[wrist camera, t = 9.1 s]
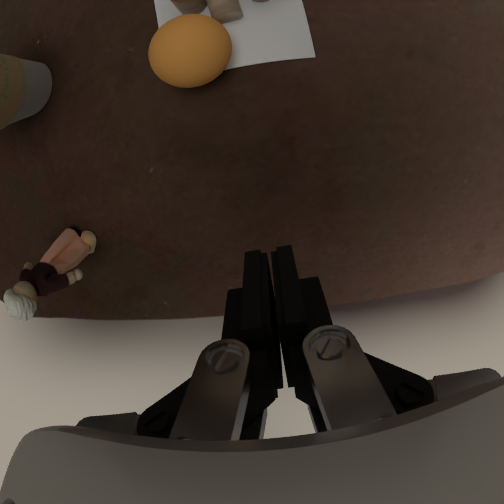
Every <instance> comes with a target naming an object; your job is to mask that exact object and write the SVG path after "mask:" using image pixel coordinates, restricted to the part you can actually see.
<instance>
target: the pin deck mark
mask: <svg viewBox="0 0 504 504" xmlns="http://www.w3.org/2000/svg"><path fill="white" fill-rule="evenodd" d="M238 1H239V4H240V7H241V10H242V13H243V18H241V19H240V20H236V21H232V22H228V23H224V24H222V25H223V26H224V27H225V28H226V30H227V31H228V33H229V35H230V38H231V42H232V54H231V58H230V61H229V63H228V65H227V66H226V68H225V69H224V70H227V69H232V68H237V67H242V66H248V65H254V64H260V63H267V62H275V61H283V60H292V59H303V58H315V52H314V48H313V43H312V39H311V35H310V30H309V26H308V22H307V18H306V14H305V10H304V7H303V3H302V0H269V1H267V2H254V1H252V0H238ZM154 3H155V9H156V14H157V20H158V25H159V28H160V27H161V26H162V25H163V24H165V23H166V22H167V21H169V20H171V19H173V18H175V17H178V16H181V15H184V14H182V13H181V12H180V11H179V10H178V9H177V7H176V6H175V5H174V4H173V3H172V2H171V1H170V0H154ZM200 14H202V15H206V16H209V17H211V14H210V11H209V8H208V4H207V6H206V8H205V10H204V11H203V12H201V13H200Z"/></svg>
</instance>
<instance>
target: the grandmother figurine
mask: <svg viewBox="0 0 504 504" xmlns="http://www.w3.org/2000/svg"><path fill="white" fill-rule="evenodd" d="M95 246H96V236H95V235H94V233H92V232H91V231H87V230H86V231H83V232H82V234H81V237H79V236H78V234H77V233H76V232H75V231H74V230H72V229H70V228H68V229H66V230H65V231H64V232H63V233H62V234H61V235H60V236H59V237H58V238H57V239H56V241H55V242H54V243H53V244H52V246H51V247H50V249H49V250H48V251H47V252H46V253H45V255H44V256H43V257H42V259H41V261H40V262H39V263H37V264H36V266H34V267H33V266H32V264H31V263H30V262H27V263H25V265H24V268H23V270H22V271H21V273H20V277H19V280H20V282H18V283H17V284H16V285H15V286H14V287H13V289H9V290H6V292H5V294H4V302H5V305H6V308H7V310H8V311H9V313H10V315H11V316H12V317H13V318H15V319H17V320H24V321H27V320H29V319H30V318H32V317H33V315H34V312H35V311H36V309H37V306H36V301H37V296H47V295H48V294H49V293H52V292H55V291H58V290H60V289H63V288H66V287H68V286H69V285H70V284H72V283H74V282H75V281H76V280H80V279H81V278H82V277H83V273H82V271H81V270H80V269H76V270H74V271H73V272H69V273H67V274H63V273H64V272H66V271H68V270H70V269H72V268H74V267H75V266H76V265H78V264H79V263H80V262H81V261H82V260H83V259H84V258H85V257H86V256H87V255H88V254H90V253H93V252H94V250H95Z"/></svg>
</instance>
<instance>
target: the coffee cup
mask: <svg viewBox="0 0 504 504" xmlns="http://www.w3.org/2000/svg"><path fill="white" fill-rule="evenodd" d="M51 91H52V76H51V72H50V70H49V68H48V67H47V66H46V65H45V64H43V63H40V62H35V61H30V60H24V59H19V58H17V57H15V56H10V55H4V54H0V130H1V129H3V128H5V127H6V126H8V125H9V124H11V123H14V122H16V121H19V120H22V119H24V118H27V117H30V116H32V115H34V114H36V113H38V112H39V111H40V110H41V109H42V108H43V107H44V106H45V104H46V103H47V101H48V99H49V97H50V94H51Z"/></svg>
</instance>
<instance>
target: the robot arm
mask: <svg viewBox="0 0 504 504" xmlns="http://www.w3.org/2000/svg"><path fill="white" fill-rule="evenodd" d="M276 249H277V251H274V252H271V257H272V268H273V279H274V291H275V296H274V291H273V285H272V280H271V274H270V269H269V263H268V258H267V253H261V251H260V250H255V251H249V252H245V260H244V274H243V288H237V289H230V290H228V293H227V300H226V308H225V315H224V323H223V330H222V338H221V340H219V341H216V342H213V343H212V344H210V345H208V346H207V347H206V348H205V349H204V350H203V351H202V352H201V354H200V356H199V358H198V361H197V363H196V366H195V369H194V371H193V374H192V377H191V378H189V379H188V380H187V381H185V382H184V383H182V384H181V385H180V386H179V387H177V388H176V389H174V390H173V391H172V392H170V393H169V394H167V395H166V396H164V397H163V398H162V399H160V400H159V401H158V402H156V403H155V404H153V405H152V406H150V407H149V408H147V409H146V410H145V411H144V412H143V413H142V414H141V415H138V414H137V413H136V412H132V413H124V414H116V415H115V414H114V415H103V416H90V417H86V418H84V419H82V420H81V421H79V423H78V424H77V425H76V426H50V427H44V428H40V429H36V430H34V431H31V432H29V433H28V434H26V435H25V436H24V437H23V438H22V440H21V441H20V442H19V444H18V446H17V448H16V450H15V452H14V454H13V456H12V458H11V461H10V463H9V466H8V468H7V472H6V475H5V477H4V481H3V484H2V487H1V491H0V504H504V377H501V376H500V374H499V373H497V372H496V371H495V370H493V369H490V368H483V369H477V370H472V371H467V372H460V373H453V374H446V375H439V376H434V377H433V379H432V380H426V379H425V378H423V377H421V376H419V375H417V374H414V373H412V372H410V371H407V370H405V369H402V368H400V367H397V366H395V365H393V364H390V363H388V362H385V361H383V360H381V359H379V358H376V357H374V356H372V355H369V354H367V353H364V352H363V351H362V349H361V347H360V345H359V343H358V342H357V340H356V338H355V336H354V335H353V334H352V333H351V332H350V331H349V330H347V329H346V328H344V327H341V326H337V325H333V324H332V320H331V317H330V313H329V310H328V307H327V303H326V300H325V297H324V294H323V290H322V287H321V284H320V281H319V278H318V277H311V278H304V279H299V278H298V274H297V269H296V265H295V260H294V256H293V251H292V247H291V245H287V246H281V247H276ZM280 343H281V348H282V354H283V359H284V365H285V371H286V377H287V382H288V387H295V394H296V398H298V399H299V400H301V401H303V402H304V403H306V404H308V410H309V413H310V416H311V420H312V423H313V426H314V429H315V432H316V433H313V434H307V435H299V436H291V437H282V438H271V439H263V436H264V430H265V424H266V418H267V407H268V406H269V405H270V404H271V403H272V402H274V400H275V398H278V391H277V389H281V388H283V376H282V362H281V351H280Z"/></svg>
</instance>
